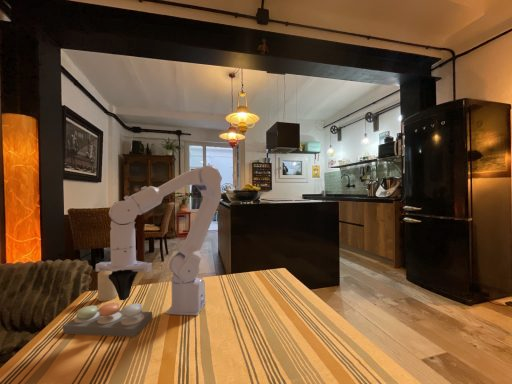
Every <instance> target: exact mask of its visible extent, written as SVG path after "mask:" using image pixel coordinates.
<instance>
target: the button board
mask: <svg viewBox="0 0 512 384" xmlns="http://www.w3.org/2000/svg"><path fill="white" fill-rule="evenodd" d="M152 320H153V312H152V311H142V312H141V313H140V314H139V315H137V316H134V317H124V316H123V310H119V311H118V312H117V313H115V314H113V315H110V316H100V309H97V314H96V315H94V316H92V317H90V318H86V319H77V316H76V317H75V318H72V319H71V320H70V321H67V322H66V323H64V324H63V325H62V334H69V335H71V334H72V335H87V336H103V337H104V336H106V337H123V338H127V337H128V338H135V337H136V336H137V335H138V334H139V333H140V332H141V331H142V330H143V329H144V328H145V327H146V326H148V324H149V323H150V322H151V321H152Z"/></svg>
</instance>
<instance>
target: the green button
mask: <svg viewBox="0 0 512 384" xmlns="http://www.w3.org/2000/svg"><path fill="white" fill-rule="evenodd" d="M97 310H98V306H97V305H86V306H84V307H80V308H79V309H77V311H76V317H77V319H86V318H90V317H92V316H94V315H96V314H97Z"/></svg>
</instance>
